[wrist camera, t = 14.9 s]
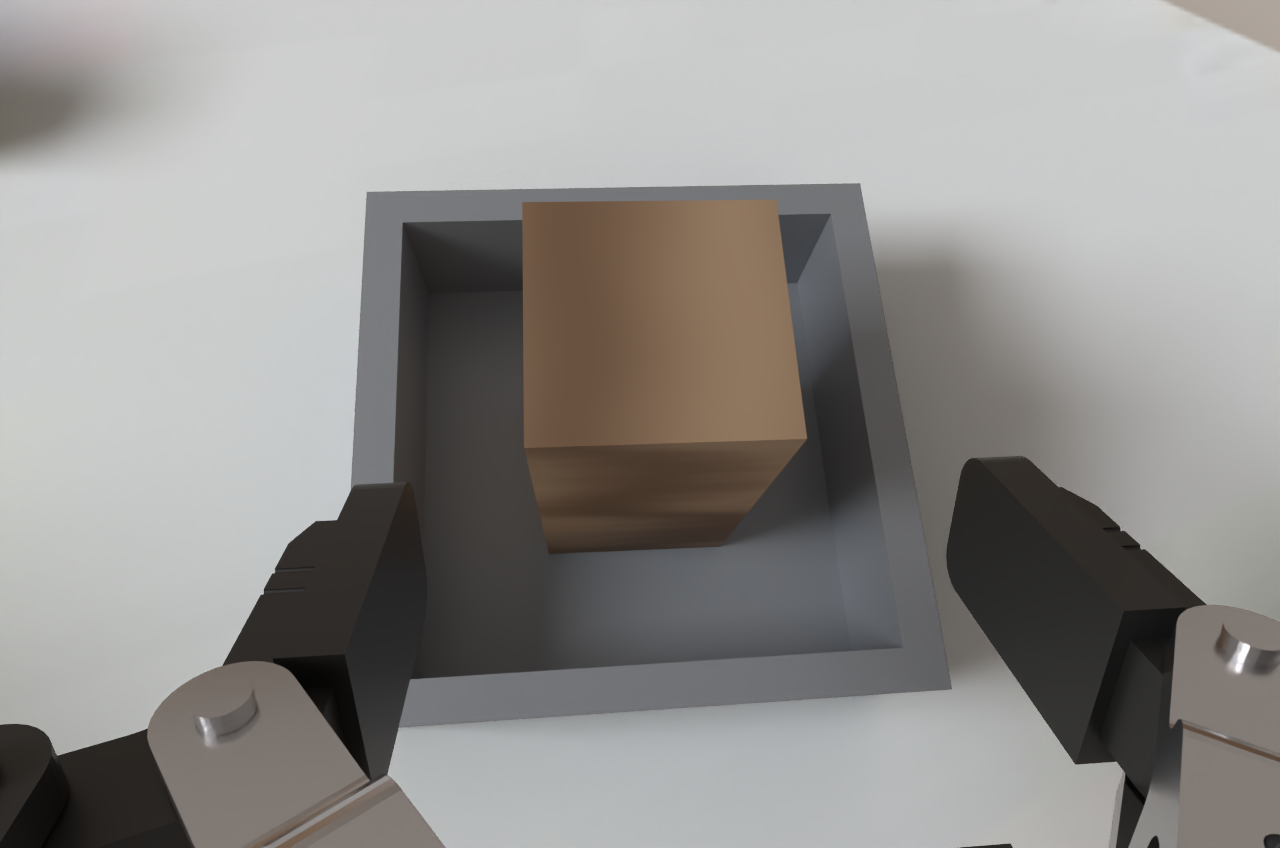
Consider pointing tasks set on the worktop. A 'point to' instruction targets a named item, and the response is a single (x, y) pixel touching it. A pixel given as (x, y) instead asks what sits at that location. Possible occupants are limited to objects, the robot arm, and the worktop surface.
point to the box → (639, 579)
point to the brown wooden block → (655, 369)
